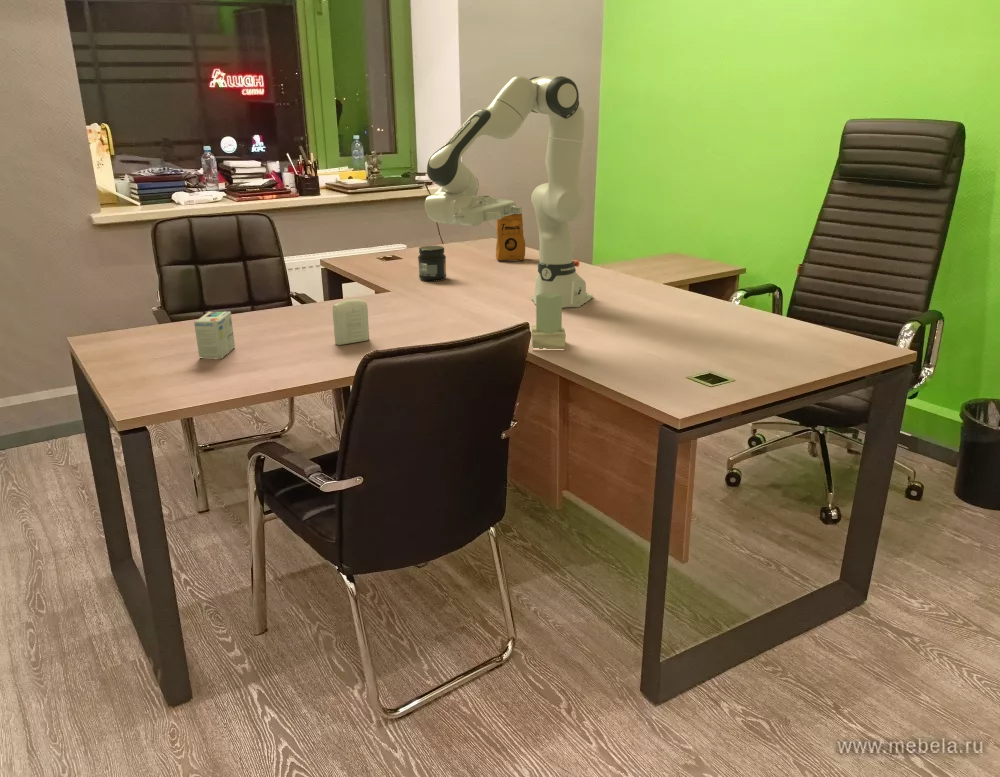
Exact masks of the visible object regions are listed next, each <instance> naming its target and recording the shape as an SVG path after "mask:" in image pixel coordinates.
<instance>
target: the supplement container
mask: <svg viewBox="0 0 1000 777" xmlns="http://www.w3.org/2000/svg"><path fill="white" fill-rule="evenodd" d="M418 253H419V255H418V257H417V260H418V277H419V280H421V281H423V280H424V281H423V282H437V281H436V280H441V281H443V279H444V280H445V279H446V278H447V265H446V264H447V263H446V259H447V256H446V255H445V247H444V246H442V245H424V246H420V247H418Z"/></svg>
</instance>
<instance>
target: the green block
mask: <svg viewBox="0 0 1000 777" xmlns="http://www.w3.org/2000/svg"><path fill="white" fill-rule="evenodd" d="M535 305H536V306H535V307H536V308H535V310H536V312H535V313H536V315H535V316H536V319H535V320H536V321H535V322H536V324H535V326H536V331H540V332H545V333H549V334H551V333H554V332H557V331H560V330H562V325H563V322H562V320H563V318H562V317H563V316H562V315H563V308H562V295H560V294H555V293H549V292H547V293H543V294H540V295H537V296H536V304H535Z"/></svg>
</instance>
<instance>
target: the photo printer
mask: <svg viewBox="0 0 1000 777" xmlns="http://www.w3.org/2000/svg"><path fill="white" fill-rule="evenodd" d="M332 319H333V335H334V343H335V345H337V346H342V345H348V344H353V343H359V342H365V341H369V340H370V327H369V307H368V304H367V301H365V300H364V299H356V298H354V299H353V298H352V299H351V298H350V299H344V300H342V301H339V302H337V303H335V304H333V305H332Z"/></svg>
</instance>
